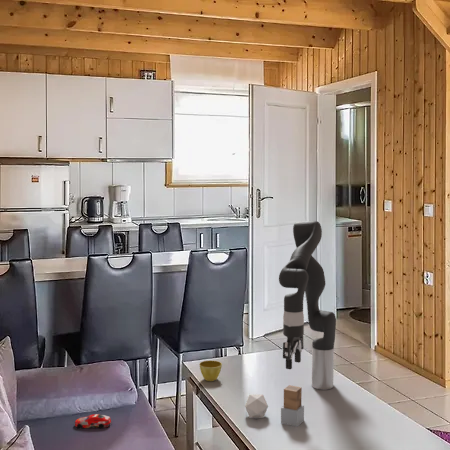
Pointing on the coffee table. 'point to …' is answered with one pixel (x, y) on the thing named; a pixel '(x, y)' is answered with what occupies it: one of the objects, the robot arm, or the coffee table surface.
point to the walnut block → (292, 397)
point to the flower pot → (210, 369)
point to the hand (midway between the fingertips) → (293, 365)
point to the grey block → (292, 416)
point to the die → (256, 406)
